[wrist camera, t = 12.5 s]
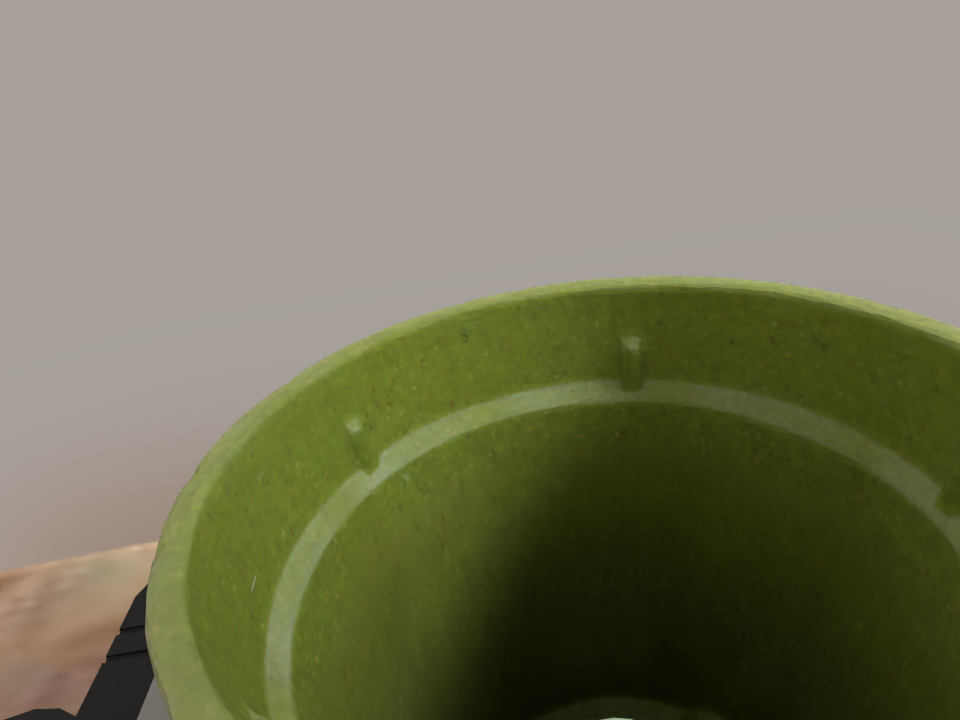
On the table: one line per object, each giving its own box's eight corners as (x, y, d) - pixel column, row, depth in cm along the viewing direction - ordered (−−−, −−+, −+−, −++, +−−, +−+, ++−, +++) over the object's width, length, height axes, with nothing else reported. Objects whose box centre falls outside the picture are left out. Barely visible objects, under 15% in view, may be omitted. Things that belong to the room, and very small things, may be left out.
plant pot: (1222, 1357, 7) (1900, 839, 3) (285, 1429, 7) (-186, 1050, 3) (795, 618, 15) (828, 244, 11) (381, 668, 15) (282, 320, 12)
